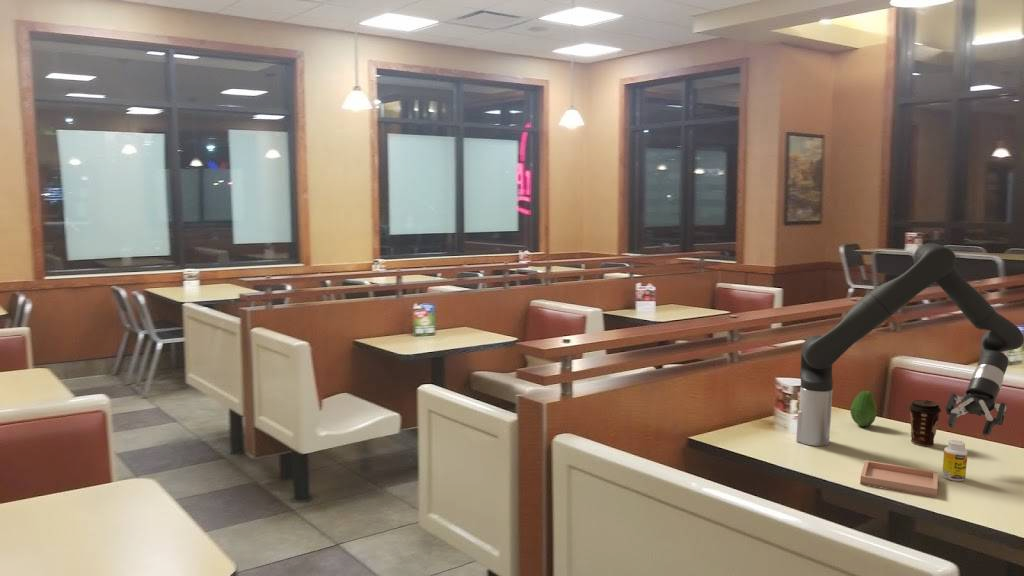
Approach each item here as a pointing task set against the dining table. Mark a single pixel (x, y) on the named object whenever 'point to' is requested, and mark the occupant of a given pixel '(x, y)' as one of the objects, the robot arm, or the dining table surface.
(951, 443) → the supplement bottle
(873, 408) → the avocado
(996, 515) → the dining table surface
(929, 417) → the coffee cup
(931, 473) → the tray
